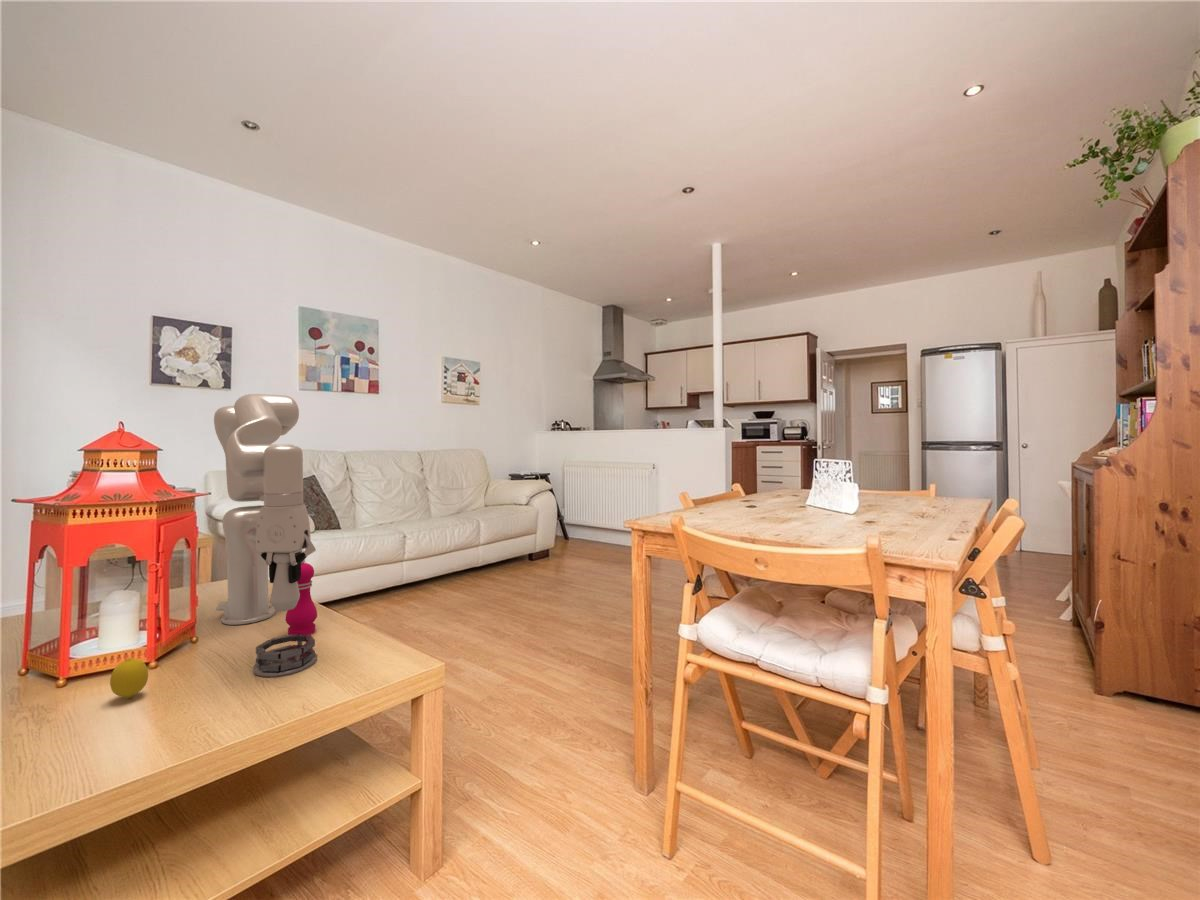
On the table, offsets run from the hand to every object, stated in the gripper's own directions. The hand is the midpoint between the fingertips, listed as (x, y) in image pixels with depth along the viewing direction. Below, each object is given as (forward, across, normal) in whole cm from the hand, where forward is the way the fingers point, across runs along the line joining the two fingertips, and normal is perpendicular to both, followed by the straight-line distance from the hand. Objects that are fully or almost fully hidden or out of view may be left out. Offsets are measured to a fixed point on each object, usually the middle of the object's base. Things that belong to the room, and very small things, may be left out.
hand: (285, 580), depth 115 cm
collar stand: (+19, 0, 0) cm, 19 cm away
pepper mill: (+19, -8, +18) cm, 28 cm away
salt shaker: (+6, 0, 0) cm, 6 cm away
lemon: (+19, -21, -16) cm, 33 cm away
